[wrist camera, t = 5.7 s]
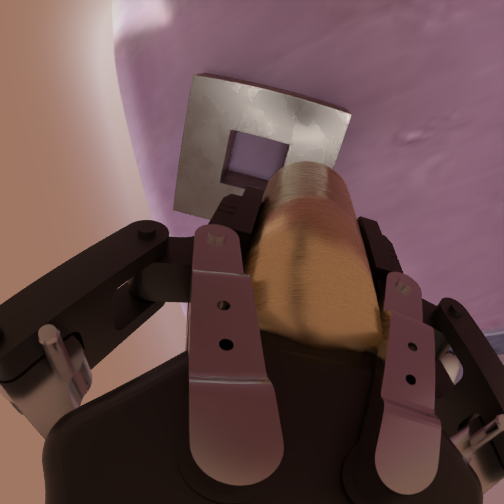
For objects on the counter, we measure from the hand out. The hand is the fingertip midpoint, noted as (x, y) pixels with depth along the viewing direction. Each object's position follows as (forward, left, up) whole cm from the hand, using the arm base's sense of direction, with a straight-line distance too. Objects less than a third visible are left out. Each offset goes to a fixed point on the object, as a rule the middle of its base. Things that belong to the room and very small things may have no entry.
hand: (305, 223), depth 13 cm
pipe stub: (0, 0, -2) cm, 2 cm away
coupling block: (+4, -4, -20) cm, 20 cm away
